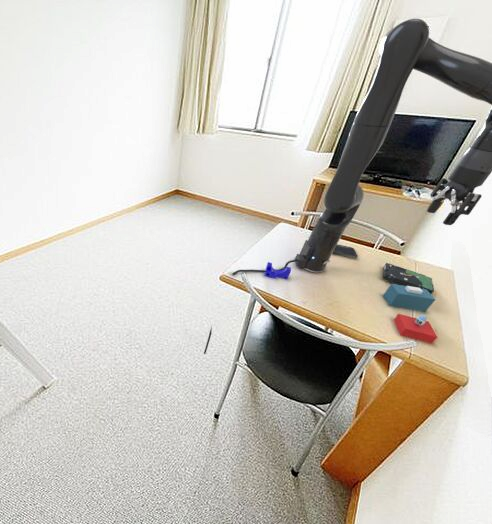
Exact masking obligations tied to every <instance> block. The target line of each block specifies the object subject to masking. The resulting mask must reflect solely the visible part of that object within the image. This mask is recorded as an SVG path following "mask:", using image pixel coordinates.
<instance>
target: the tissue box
mask: <svg viewBox="0 0 492 524" xmlns="http://www.w3.org/2000/svg"><path fill="white" fill-rule="evenodd" d="M382 297H383V299H384V300H385V301H386V303H387V304H388V306H390V307H394V308H395V307H396V308H400V309H401V308H402V309H406V310H412V311H419V312H424V313H426V311H427V310H429V309H430V307H431V306H432V305H433V303H434V302H435V301H436V300H437V299H436V298H435V297H434V296H433V295H432V294H430V293H429V292H428V291H427V290H426V289H420V288H417V287H411V286H402V285H397V284H394V283H390V284H389V286H388V287H387V289H386V290H385V292H384V293H383V295H382Z"/></svg>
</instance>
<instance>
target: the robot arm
mask: <svg viewBox="0 0 492 524" xmlns="http://www.w3.org/2000/svg"><path fill="white" fill-rule="evenodd" d="M378 54H379V57H380V59H379V63H378V67H377V69H376V73H375V76H374V80H373V82H372V84H371V87H370V89H369V91H368V93H367V94H366V96H365V98H364V99H363V101H362V103H361V105H360V107H359V108H358V110H357V113H356V115H355V117H354V120H353V122H352V125H351V128H350V130H349V133H348V136H347V139H346V142H345V145H344V148H343V151H342V154H341V157H340V159H339V162H338V166H337V168H336V171H335V173H334V175H333V177H332V179H331V181H330V183H329V185H328V188H327V189H326V191H325V194H324V197H323V202H324V203H323V204H324V207H325V209H324V210H323V211H322V213H321V214H320V215H319V216H318V217H317V219H316V221H315V223H314V226H313V228H312V231H311V233H310V234H309V236H308V239H305V241H304V242H303V244H302V245H303V246H302V248H301V249H300V252H299V253H296V255H295V257H294V259H290V260H288V261H287V262H286V263H285V264H284V267H282V268H279V269H277V270H278V271H280V270H284V269H285V268H286V267H288V265H289V264H291V263H295V266H296V267H298V268H300V269H303V270H305V271H307V272H309V273H313V274H314V273H315V274H321V273H323V272H324V271H325V268H326V267H327V264H328V263H330V262H331V257H332V255H333V254H332V253H333V251H334V249H335V247H336V245H337V244H339V241H340V239H341V238H342V236H343V235H344V232H345V230H346V228H347V227H348V226H349V225H350V224H351V222H352V220H353V219H354V217H355V215H356V213H357V212H358V210H359V208H360V206H361V204H362V202H363V199H364V189H363V188H362V186H361V185H360V181H361V178H362V175H363V173H364V172H365V170H366V168H367V167H368V166H369V164H370V163H371V161H372V160H373V158H374V157H375V156H376V154H377V153H378V152H379V150H380V148H381V147H382V145H383V144H384V141H385V139H386V137H387V134H388V132H389V130H390V127H391V125H392V122H393V120H394V117H395V114H396V111H397V109H398V106H399V103H400V100H401V97H402V96H403V95H402V94H403V92H404V88H405V86H406V84H407V81H408V79H409V77H410V75H411V74H412V71H413V70H415V71H417V72H419V73H423V74H425V75H427V76H429V77H431V78H433V79H435V80H437V81H439V82H440V83H443V84H444V85H447V86H448V87H449V88H452V89H453V90H456V91H458V92H460V93H462V94H463V95H465V96H468V97H470V98H472V99H474V100H476V101H477V100H478V101H480V102H481V101H482V102H485V103H487V104H489V105H491V106H492V62H490V61H488V60H486V59H484V58H480V57H477V56H475V55H471V54H468V53H465V52H461V51H459V50H455V49H452V48H449V47H447V46H445V45H443V44H440V43H438V42H436V41H435V40H434V39H432V38H431V37H430V27H429V25H428V23H427V22H426V21H425V20H424V19H421V18H410V19H407V20H403V21H402V22H400V23H398V24H397V25H395V26H394V27H392V28H391V29H390V30H388V32H387V33H386V34H385V35H384V36H383V38H382V39H381V41H380V44H379V47H378ZM491 174H492V107H490V110H489V112H488V114H487V116H486V118H485V121H484V124H483V126H482V128H481V130H480V131H479V133H478V134H477V135H476V137H475V138H474V140H473V141H472V143H471V144H470V146H469V147H468V148H467V149H466V151H465V152H464V153H463V154H462V156H461V157H460V159H459V160H458V161H457V163H456V164H455V166H454V168H453V169H452V170H451V172H450V173H449V175H448V177H447V178H444V177H443V178H441V179H440V180H439V181H438V183H437V184H436V185H435V187H434V189H433V190H432V192H431V193H430V197H432V201H431V203H430V205H429V206H428V207H427V209H426V213H430V214H436V212H437V211H438V209H439V208H440V207H441V205H442V204H443V202H444V201H446V200H448V201H450V206H451V211H450V212H449V213H448V214H447V216H446V217H445V218H444V220H443V221H442V224H444V225H445V226H453V225H454V224H455V222H457V220H458V219H459V217H460V216H461V215H465V216H469V215H470V214H471V213H472V211H473V210H474V208H475V207H476V205H477V204H478V202H480V200H481V198H482V197H483V196H482V194H481V193H480V194H479V193H476V192H474V191H475V189H476V188H478V187H482V186H483V184H484V183H485V182H486V180H487V179H488V178H489V176H490V175H491ZM438 191H439V192H438ZM264 272H265V269H237V270H236V271H234V272H232V273H231V275H232V276H235V275H237V274H238V273H264ZM212 330H213V329H212V325H211V326H210V330H209V333H208V337H207V341H206V345H205V348H204V351H203V355H206V354H207V350H208V347H209V344H210V340H211V336H212V333H213V332H212Z"/></svg>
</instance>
